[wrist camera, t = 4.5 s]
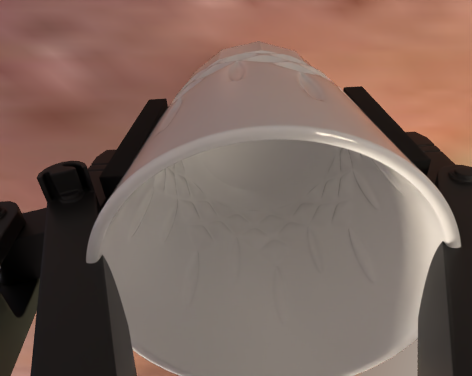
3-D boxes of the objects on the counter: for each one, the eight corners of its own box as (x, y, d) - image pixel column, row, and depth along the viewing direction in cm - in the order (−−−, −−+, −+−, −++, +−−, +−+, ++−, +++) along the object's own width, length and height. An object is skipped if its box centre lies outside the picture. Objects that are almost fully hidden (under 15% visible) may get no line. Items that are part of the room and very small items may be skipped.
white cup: (362, 158, 17) (479, 351, 9) (215, 212, 19) (195, 414, 11) (310, -13, 13) (430, 40, 5) (132, 76, 15) (-2, 225, 7)
